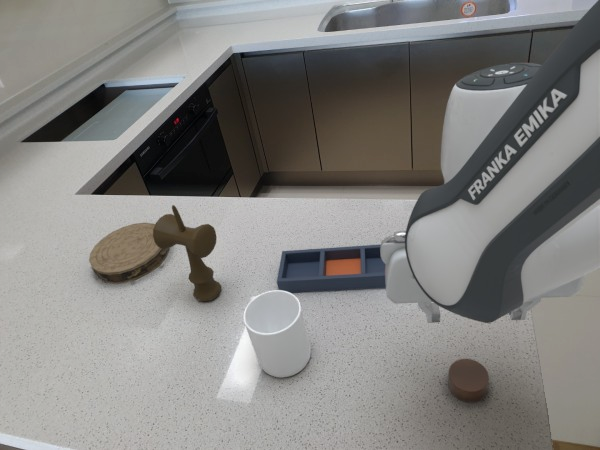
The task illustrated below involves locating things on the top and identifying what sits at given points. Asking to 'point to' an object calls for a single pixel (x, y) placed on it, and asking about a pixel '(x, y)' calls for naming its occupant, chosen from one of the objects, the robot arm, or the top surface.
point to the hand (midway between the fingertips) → (473, 317)
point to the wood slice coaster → (127, 254)
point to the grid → (331, 269)
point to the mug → (278, 332)
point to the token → (468, 380)
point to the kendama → (190, 250)
